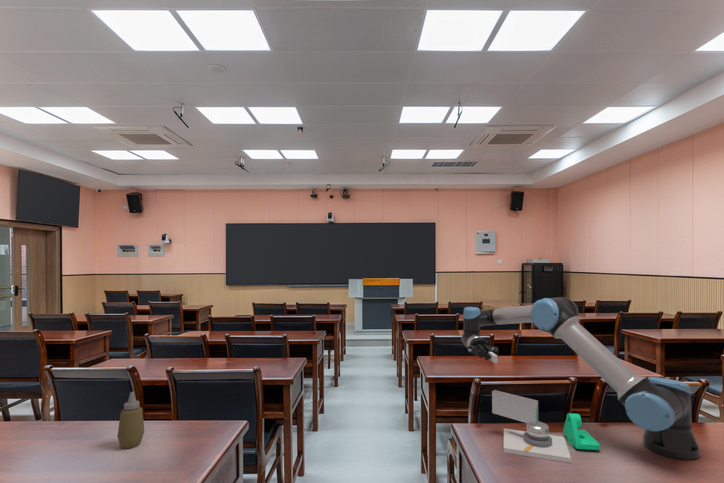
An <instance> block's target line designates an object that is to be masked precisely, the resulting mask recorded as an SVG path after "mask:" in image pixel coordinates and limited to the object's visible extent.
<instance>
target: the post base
mask: <svg viewBox="0 0 724 483" xmlns="http://www.w3.org/2000/svg"><path fill="white" fill-rule="evenodd" d="M503 453H504V454H505V453H506V454H512V455H516V456H524V457H530V458H538V459H543V460H550V461H555V462H562V463H569V464H572V458H571V453H570V451H569V447H568V445H567V442H566V438H565V436H562V435H561V436H560V435H553V434H549V439H548V440H545V441H539V440H534V439H531V438H529V437H528V436H527V433H526V431H524V430H517V429H512V428H511V429H510V428H503Z"/></svg>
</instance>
